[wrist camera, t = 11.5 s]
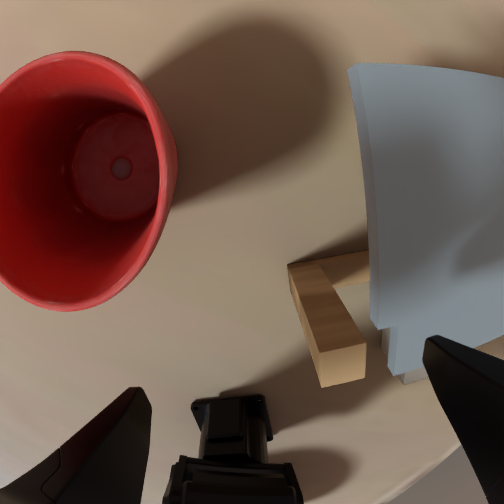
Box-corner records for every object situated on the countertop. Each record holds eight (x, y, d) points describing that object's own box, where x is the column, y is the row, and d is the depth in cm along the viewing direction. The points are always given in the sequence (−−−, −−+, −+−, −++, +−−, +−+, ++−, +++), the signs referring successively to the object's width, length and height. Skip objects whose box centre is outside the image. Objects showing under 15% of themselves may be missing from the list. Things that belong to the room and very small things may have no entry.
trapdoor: (513, 297, 15) (540, 317, 13) (355, 346, 16) (374, 382, 13) (516, 92, 11) (552, 90, 8) (332, 79, 12) (356, 63, 9)
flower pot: (235, 193, 20) (229, 233, 11) (104, 271, 21) (36, 345, 12) (156, 57, 17) (95, -2, 8) (36, 150, 18) (-61, 165, 9)
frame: (480, 251, 22) (561, 300, 12) (290, 291, 22) (321, 387, 13) (482, 228, 21) (567, 271, 12) (287, 264, 22) (319, 353, 12)
